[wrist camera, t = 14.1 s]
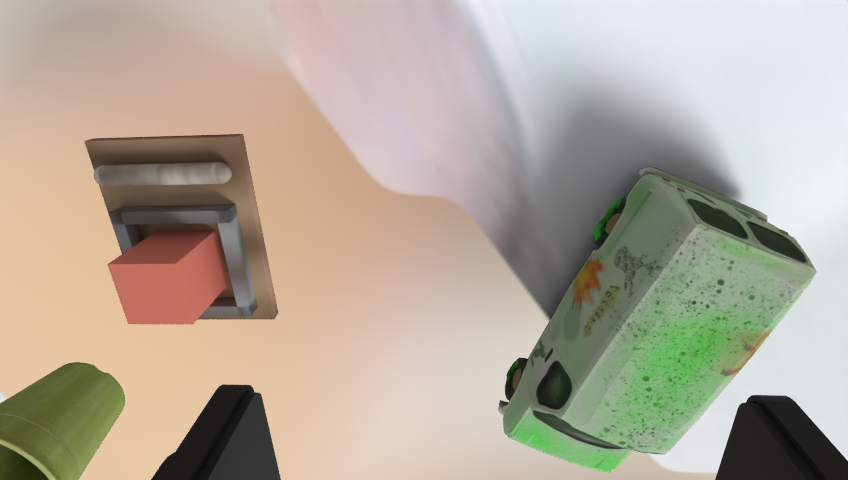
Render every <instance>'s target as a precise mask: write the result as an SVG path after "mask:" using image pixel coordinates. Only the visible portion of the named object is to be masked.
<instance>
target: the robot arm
mask: <svg viewBox="0 0 848 480" xmlns="http://www.w3.org/2000/svg"><path fill="white" fill-rule="evenodd" d="M151 480H281V479H280V474H279V470H278V466H277V461H276V457H275V452H274V448H273V444H272V439H271V435H270V431H269V426H268V422H267V417H266V414H265V409H264V405H263V400H262V397H261V394H260V393H254V390H253V388H252V387H251V386H250V385H221V386H219V388H218V389H217V390H216V391H215V393H214V394H213V396H212V397H211V399H210V400H209V402H208V403H207V405H206V406H205V408H204V409H203V411H202V412H201V414H200V416H199V417H198V418H197V420H196V422H195V423H194V425H193V426H192V428H191V429H190V431H189V432H188V434H187V435H186V437H185V438H184V440H183V441H182V443H181V444H180V446H179V448H178V449H177V450H176V452H175V453H173V454H171V455H170V456H168V457H167V459H166V460H165V461H164V462H163V463H162V464H161V466H160V467H159V469H158V470H157V472H156V473H155V475H154V476H153V478H152V479H151ZM715 480H848V461H847V460H846V459H845V458H844V456H843V455H842V454H841V453H840V452H839V451H838V450H837V449H836V447H835V446H834V445H833V444H832V443H831V442H830V441H829V439H828V438H827V437H826V436H825V435H824V434H823V433H822V432H821V430H820V429H819V428H818V427H817V426H816V425H815V424H814V423H813V421H812V420H811V419H810V418H809V417H808V416H807V415H806V414H805V412H804V411H803V410H802V409H801V408H800V407H799V406H798V405H797V403H796V402H795V401H793V400H792V399H791V398H789V397H787V396H768V395H752V396H750V397H749V398H748V400H747V402H746V403H742V404H740V405H739V407H738V410H737V413H736V416H735V420H734V423H733V426H732V429H731V432H730V435H729V438H728V442H727V445H726V448H725V451H724V454H723V457H722V460H721V464H720V467H719V470H718V473H717V476H716V479H715Z"/></svg>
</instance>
